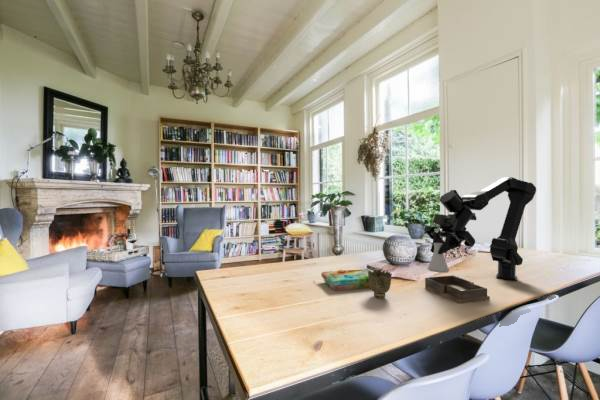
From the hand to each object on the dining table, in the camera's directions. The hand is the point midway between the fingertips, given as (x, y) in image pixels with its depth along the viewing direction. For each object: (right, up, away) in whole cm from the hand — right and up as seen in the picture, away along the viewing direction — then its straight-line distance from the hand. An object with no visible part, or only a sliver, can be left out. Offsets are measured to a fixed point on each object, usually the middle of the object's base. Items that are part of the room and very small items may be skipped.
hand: (435, 252), depth 103 cm
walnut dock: (+3, -12, -7) cm, 15 cm away
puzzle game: (-30, -13, +2) cm, 32 cm away
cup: (-23, -13, -10) cm, 28 cm away
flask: (+1, -7, +1) cm, 7 cm away
